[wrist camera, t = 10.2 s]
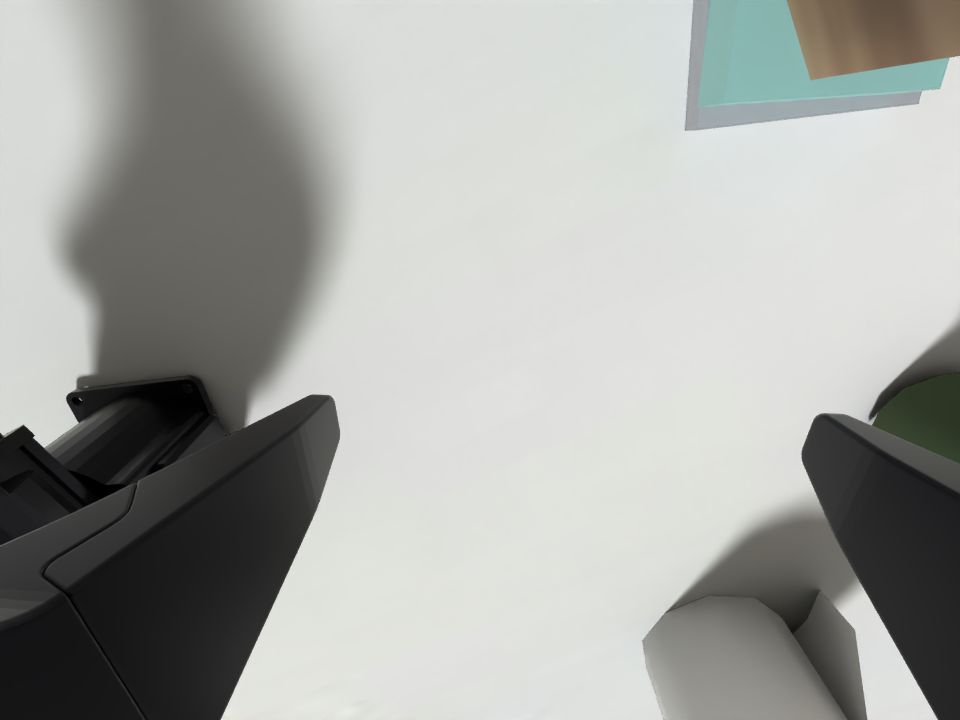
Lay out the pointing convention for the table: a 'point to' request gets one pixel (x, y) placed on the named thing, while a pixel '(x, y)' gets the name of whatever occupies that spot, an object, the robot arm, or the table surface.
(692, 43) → the slate slab
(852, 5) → the walnut pillar
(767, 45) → the teal slab
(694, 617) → the toilet tissue
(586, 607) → the table surface
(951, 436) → the character mug
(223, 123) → the table surface
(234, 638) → the robot arm
